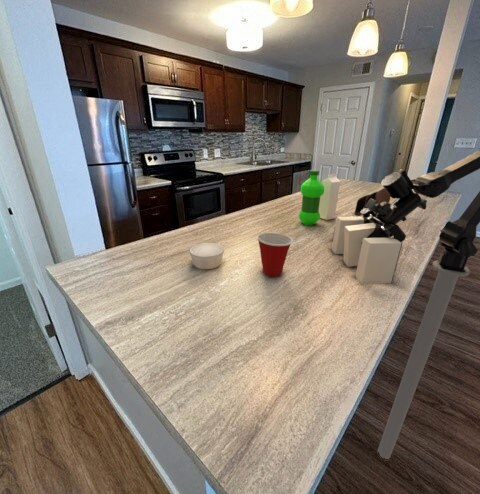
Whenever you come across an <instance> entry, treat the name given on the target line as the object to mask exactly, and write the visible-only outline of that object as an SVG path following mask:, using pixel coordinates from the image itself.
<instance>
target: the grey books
mask: <svg viewBox="0 0 480 494" xmlns="http://www.w3.org/2000/svg"><path fill="white" fill-rule="evenodd" d="M357 217H363V216H362V215H357ZM379 223H380V222H379ZM334 231H335V226H334V228H333V235H332V238H333V237H334ZM332 242H333V239H332Z"/></svg>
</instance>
